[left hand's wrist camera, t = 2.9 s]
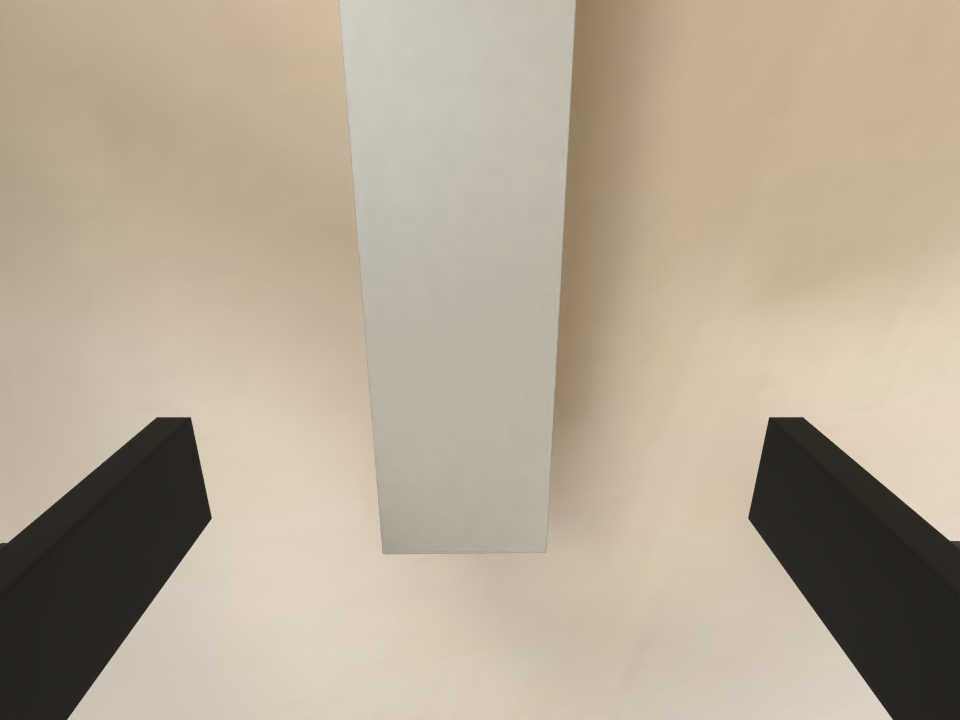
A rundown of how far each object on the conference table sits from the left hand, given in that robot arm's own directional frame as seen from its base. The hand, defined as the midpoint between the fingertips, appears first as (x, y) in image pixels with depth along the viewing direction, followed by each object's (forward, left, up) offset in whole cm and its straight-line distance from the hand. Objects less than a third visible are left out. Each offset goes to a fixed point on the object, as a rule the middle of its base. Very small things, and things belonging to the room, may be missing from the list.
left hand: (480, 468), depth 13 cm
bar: (+19, +22, -11) cm, 31 cm away
